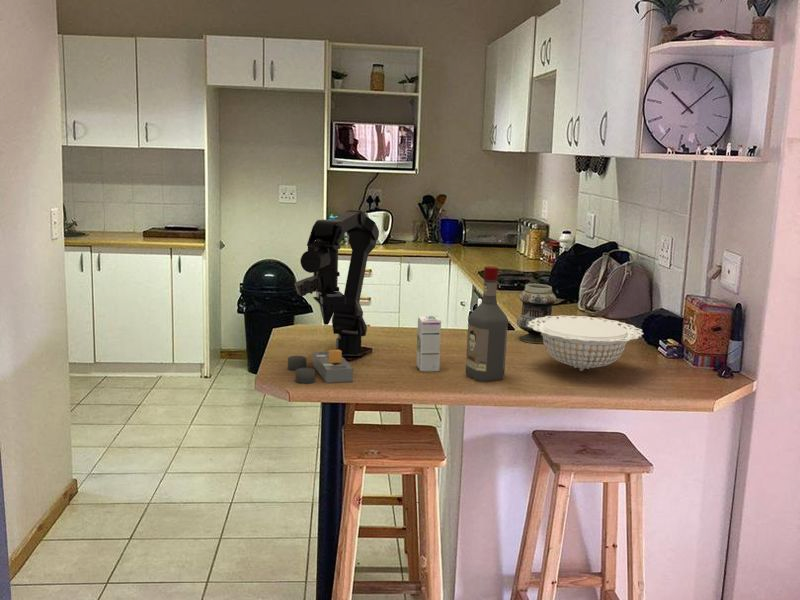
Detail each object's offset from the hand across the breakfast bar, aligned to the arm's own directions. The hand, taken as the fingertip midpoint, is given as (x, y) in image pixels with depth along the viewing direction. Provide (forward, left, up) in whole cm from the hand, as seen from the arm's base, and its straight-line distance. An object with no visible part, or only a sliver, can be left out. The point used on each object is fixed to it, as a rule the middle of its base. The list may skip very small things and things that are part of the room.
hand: (325, 324), depth 224 cm
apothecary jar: (-74, -22, -13) cm, 78 cm away
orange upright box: (-1, +7, -8) cm, 11 cm away
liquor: (-41, +15, -13) cm, 45 cm away
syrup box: (-28, +5, -13) cm, 31 cm away
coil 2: (+7, +11, -13) cm, 18 cm away
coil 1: (+7, -1, -13) cm, 15 cm away
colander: (-71, +14, -13) cm, 73 cm away
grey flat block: (-1, +4, -12) cm, 13 cm away
